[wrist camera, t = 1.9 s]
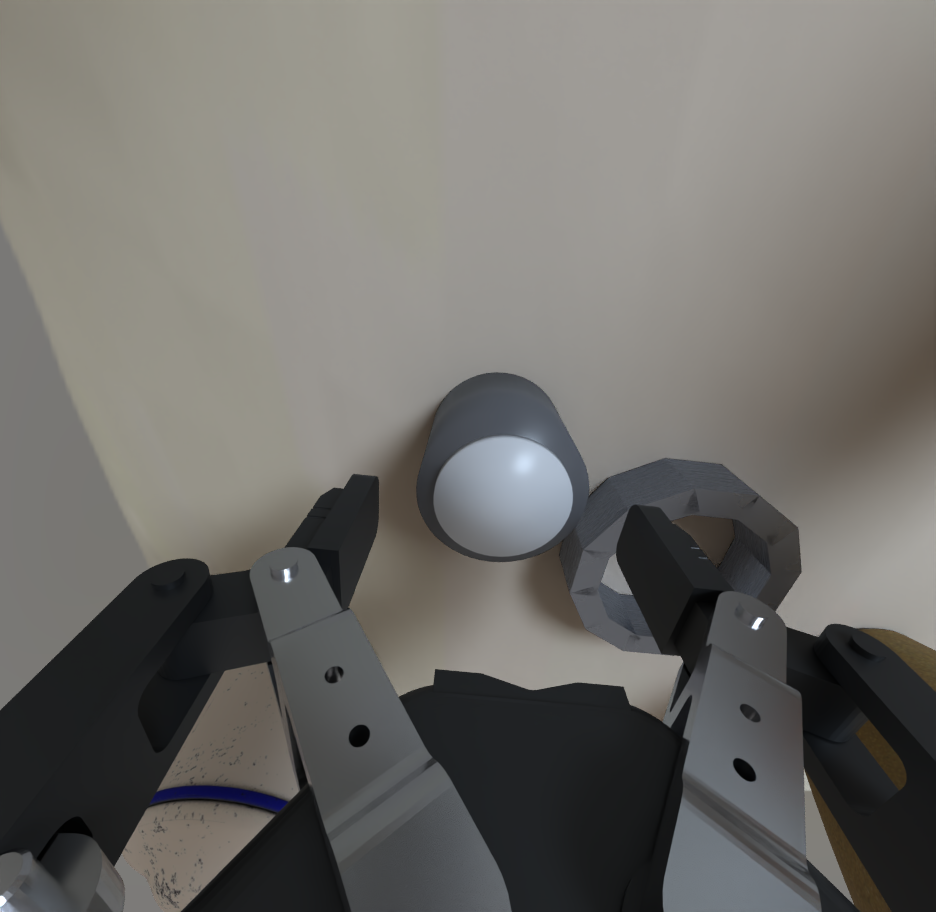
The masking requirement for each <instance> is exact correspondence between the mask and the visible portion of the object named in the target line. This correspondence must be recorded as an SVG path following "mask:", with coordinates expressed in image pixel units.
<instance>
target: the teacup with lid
mask: <svg viewBox="0 0 936 912" xmlns="http://www.w3.org/2000/svg"><path fill="white" fill-rule="evenodd" d="M298 792H299V790H298V787H297V783H296V779H295V775H294V771H293V767H292V763H291V759H290V755H289V750H288V746H287V741H286V737H285V733H284V729H283V725H282V721H281V717H280V714H279V710H278V706H277V702H276V698H275V695H274V691H273V687H272V683H271V680H270V676H269V672H268V668H267V665H266V662H265V663H260V664H256V665H251V666H246V667H241V668H236V669H231V670H226V671H224V673H223V675H222V677H221V679H220V680H219V682H218V684H217V686H216V687H215V689H214V691H213V693H212V694H211V696H210V698H209V700H208V701H207V703H206V705H205V707H204V709H203V710H202V712H201V714H200V716H199V717H198V719H197V721H196V723H195V724H194V726H193V728H192V730H191V732H190V733H189V735H188V737H187V739H186V740H185V742H184V744H183V746H182V747H181V749H180V751H179V753H178V755H177V756H176V758H175V760H174V762H173V763H172V765H171V767H170V769H169V770H168V772H167V774H166V776H165V777H164V779H163V781H162V783H161V785H160V786H159V788H158V790H157V792H156V793H155V795H154V797H153V799H152V800H151V802H150V804H149V806H148V808H147V809H146V811H145V813H144V815H143V816H142V818H141V820H140V822H139V823H138V825H137V827H136V829H135V831H134V832H133V834H132V836H131V838H130V839H129V841H128V843H127V845H126V846H125V848H124V850H123V852H122V854H123V857H124V858H125V860H126V861H127V862H128V864H129V865H130V866H131V867H132V868H133V869H134V870H136V871H137V872H138V873H140V874H141V875H143V876H144V877H145V878H146V879H147V881H148V883H149V885H150V888H151V890H152V893H153V896H154V898H155V901H156V902H157V904H158V906H159V907H160V908H161V909H162V910H163V911H164V912H181V911H182V910H183V909H184V908H185V907H186V906H187V905H188V904H189V903H190V902H191V901H192V900H193V899H194V898H195V897H196V896H197V895H198V894H199V892H200V891H201V890H202V889H203V888H204V887H205V886H206V885H207V884H208V883H209V882H210V881H211V880H212V879H213V878H214V877H215V876H216V875H217V874H218V873H219V872H220V871H221V870H222V869H223V868H224V867H225V866H226V865H227V864H228V863H229V862H230V861H231V860H232V859H233V858H234V857H235V856H236V855H237V854H238V853H239V852H240V851H241V850H242V849H243V848H244V847H245V846H246V845H247V844H248V843H249V842H250V841H251V840H252V839H253V838H254V837H255V836H256V835H257V834H258V833H259V832H260V831H261V830H262V829H263V828H264V827H265V826H266V825H267V823H268V822H269V821H270V820H271V819H272V818H273V817H274V816H275V815H276V814H277V813H278V812H279V811H280V810H281V809H282V808H283V807H284V806H285V805H286V804H287V803H288V802H289V801H290V800H291V799H292V798H293V797H294V796H295V795H296V794H297V793H298Z"/></svg>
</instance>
